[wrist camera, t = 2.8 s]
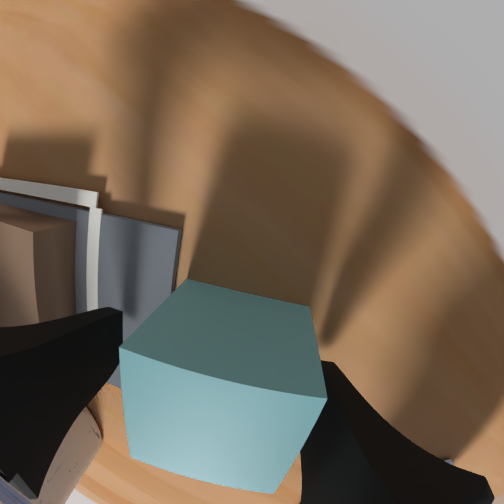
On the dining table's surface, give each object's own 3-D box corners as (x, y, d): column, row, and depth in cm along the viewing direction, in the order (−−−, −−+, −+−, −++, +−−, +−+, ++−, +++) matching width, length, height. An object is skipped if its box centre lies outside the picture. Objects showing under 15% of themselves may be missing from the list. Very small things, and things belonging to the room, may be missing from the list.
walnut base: (76, 221, 10) (33, 232, 7) (81, 363, 11) (53, 391, 9) (-7, 201, 10) (-41, 207, 8) (1, 317, 12) (-26, 333, 9)
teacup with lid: (8, 320, 12) (-116, 405, 1) (119, 414, 12) (19, 568, 1) (14, 411, 15) (-53, 480, 4) (94, 475, 15) (41, 564, 4)
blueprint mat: (186, 206, 10) (181, 207, 9) (166, 409, 12) (163, 415, 11) (-10, 175, 10) (-16, 175, 10) (-1, 325, 13) (-6, 328, 12)
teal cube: (309, 305, 10) (327, 398, 5) (278, 397, 11) (273, 493, 6) (187, 277, 10) (118, 347, 5) (176, 373, 11) (130, 457, 6)
